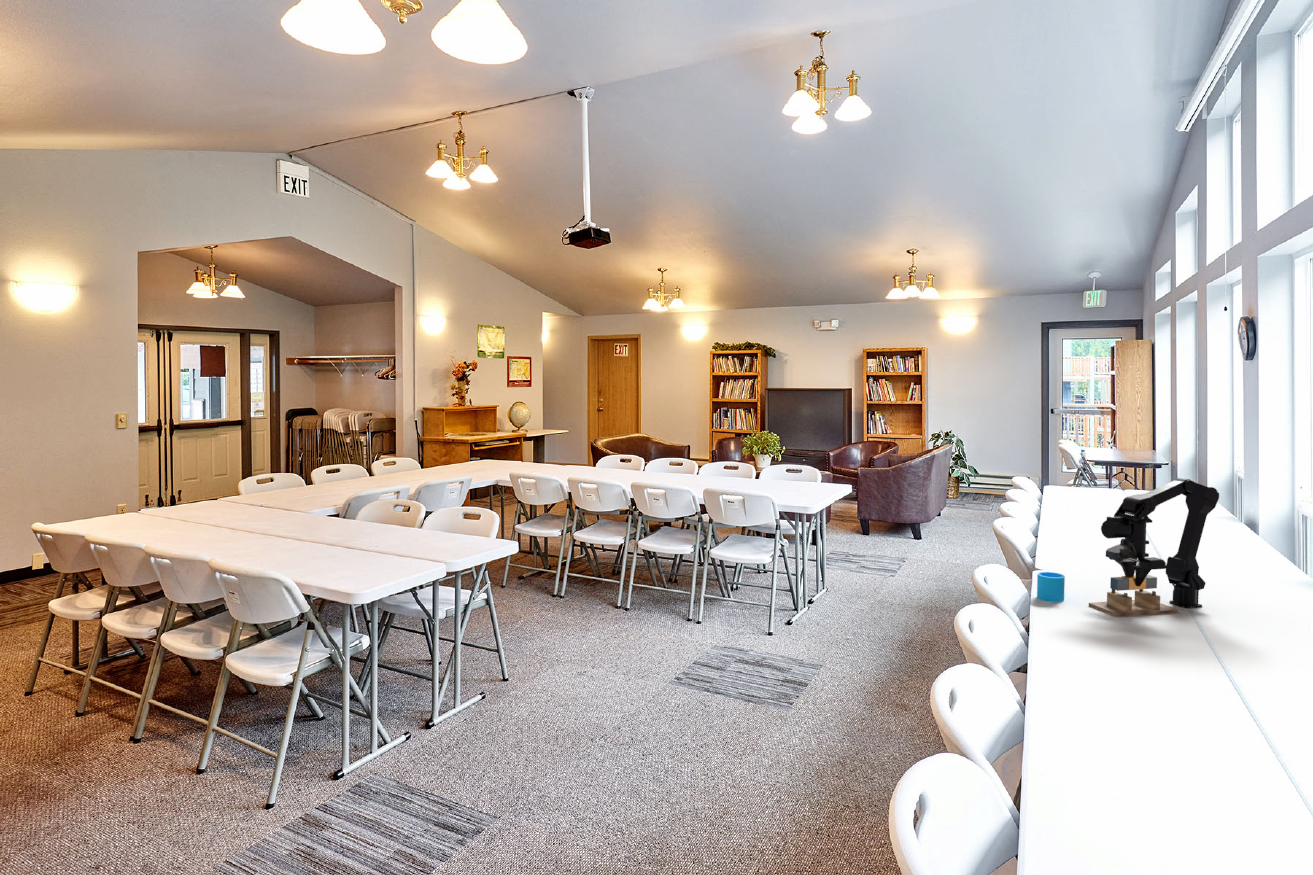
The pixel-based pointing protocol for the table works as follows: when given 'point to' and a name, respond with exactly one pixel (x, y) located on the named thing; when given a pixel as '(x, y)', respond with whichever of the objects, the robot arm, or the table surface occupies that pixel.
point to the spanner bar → (1132, 583)
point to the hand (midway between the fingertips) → (1133, 584)
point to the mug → (1050, 586)
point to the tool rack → (1133, 604)
